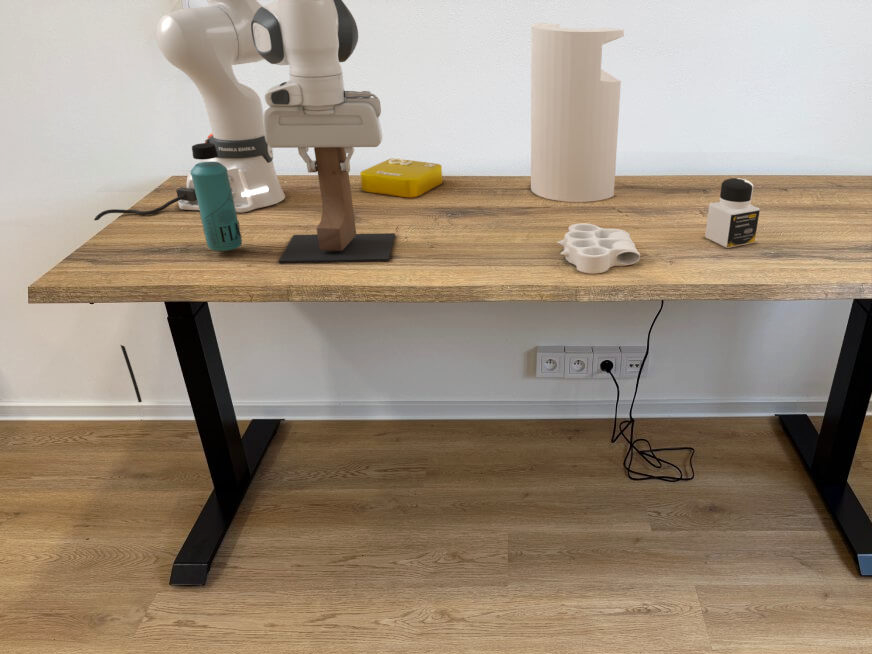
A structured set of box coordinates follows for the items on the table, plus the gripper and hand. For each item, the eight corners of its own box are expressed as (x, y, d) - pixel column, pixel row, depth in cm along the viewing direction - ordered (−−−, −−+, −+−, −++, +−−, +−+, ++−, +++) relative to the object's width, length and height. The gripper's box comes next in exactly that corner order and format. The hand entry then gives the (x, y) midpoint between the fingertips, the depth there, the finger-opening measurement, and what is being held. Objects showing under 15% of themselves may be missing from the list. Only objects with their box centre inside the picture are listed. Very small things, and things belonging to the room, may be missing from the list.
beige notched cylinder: (539, 180, 189) (615, 195, 180) (513, 191, 181) (591, 207, 172) (541, 22, 171) (625, 29, 161) (512, 27, 163) (599, 34, 153)
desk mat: (279, 263, 142) (278, 260, 142) (293, 237, 154) (293, 234, 154) (388, 261, 143) (388, 258, 143) (395, 235, 155) (394, 233, 155)
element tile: (358, 191, 180) (356, 170, 178) (392, 175, 192) (390, 155, 190) (414, 199, 176) (412, 178, 173) (445, 182, 187) (444, 162, 185)
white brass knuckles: (642, 273, 140) (562, 274, 139) (625, 238, 155) (553, 239, 154) (644, 255, 138) (563, 256, 137) (626, 222, 153) (553, 223, 152)
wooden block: (342, 251, 144) (328, 153, 135) (319, 250, 144) (303, 152, 135) (357, 235, 152) (345, 141, 142) (335, 234, 152) (321, 140, 143)
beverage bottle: (224, 261, 143) (199, 150, 132) (200, 254, 146) (175, 145, 135) (252, 250, 147) (231, 143, 137) (229, 244, 150) (206, 138, 140)
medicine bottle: (726, 249, 151) (735, 187, 144) (704, 237, 156) (711, 178, 150) (755, 243, 153) (765, 183, 147) (731, 232, 159) (740, 173, 152)
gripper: (380, 87, 137) (388, 166, 144) (263, 87, 136) (276, 167, 143) (377, 94, 132) (385, 175, 139) (254, 94, 130) (269, 176, 138)
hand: (329, 171), depth 141 cm, fingers closed on wooden block, 4 cm apart
